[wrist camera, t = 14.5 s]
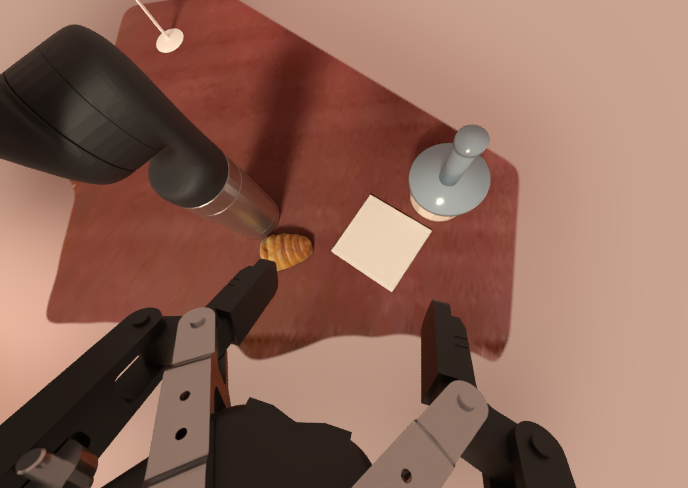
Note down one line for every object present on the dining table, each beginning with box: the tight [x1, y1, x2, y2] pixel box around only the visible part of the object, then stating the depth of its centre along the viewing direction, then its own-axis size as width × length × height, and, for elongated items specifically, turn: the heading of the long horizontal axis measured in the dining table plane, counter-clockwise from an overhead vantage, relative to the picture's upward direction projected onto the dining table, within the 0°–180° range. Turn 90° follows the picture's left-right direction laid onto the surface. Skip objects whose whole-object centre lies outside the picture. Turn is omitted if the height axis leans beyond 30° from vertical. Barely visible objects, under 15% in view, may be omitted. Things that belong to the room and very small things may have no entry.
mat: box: [331, 195, 432, 292], centre depth 45 cm, size 13×13×1 cm
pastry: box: [260, 233, 313, 271], centre depth 45 cm, size 9×7×4 cm
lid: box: [408, 125, 490, 217], centre depth 34 cm, size 12×12×11 cm
